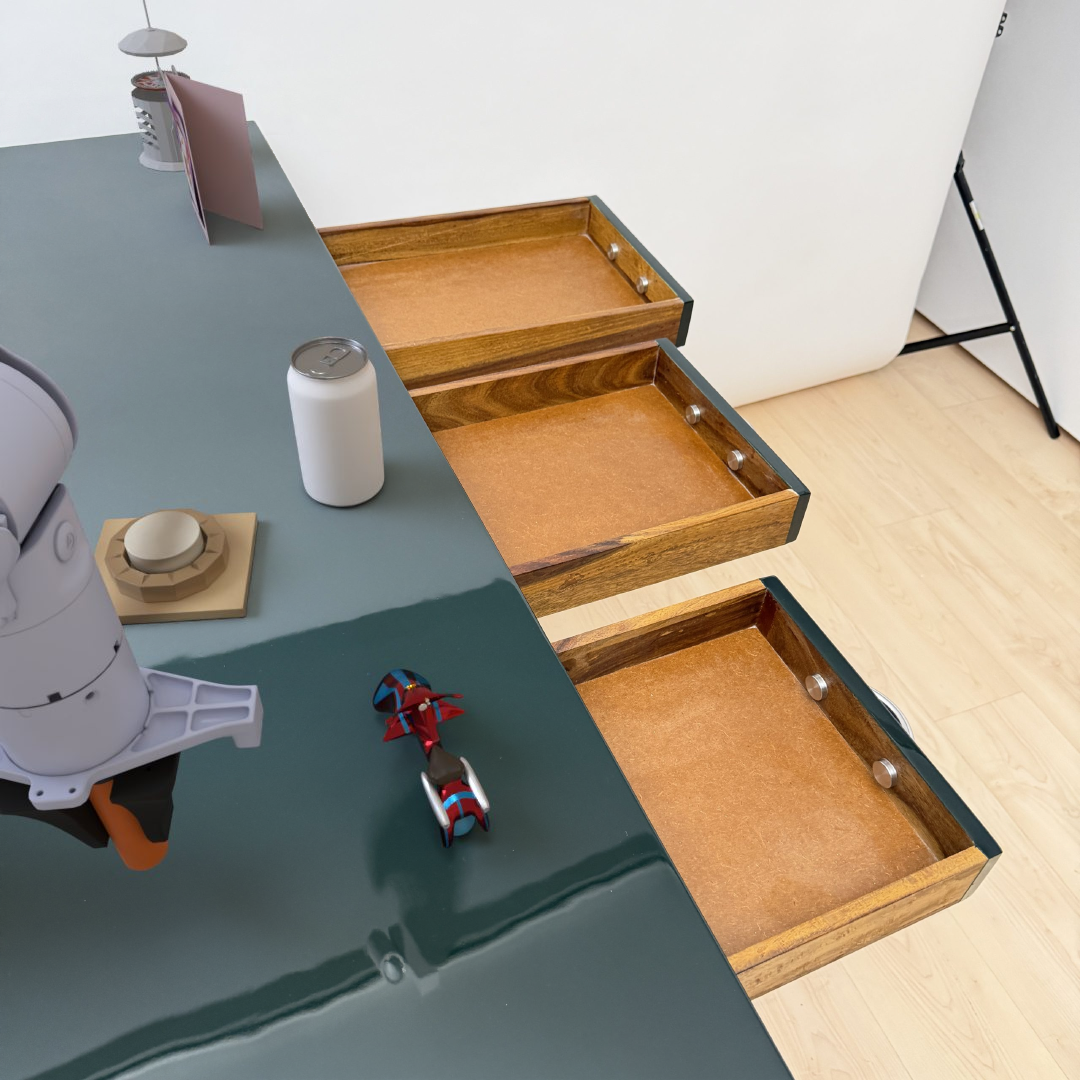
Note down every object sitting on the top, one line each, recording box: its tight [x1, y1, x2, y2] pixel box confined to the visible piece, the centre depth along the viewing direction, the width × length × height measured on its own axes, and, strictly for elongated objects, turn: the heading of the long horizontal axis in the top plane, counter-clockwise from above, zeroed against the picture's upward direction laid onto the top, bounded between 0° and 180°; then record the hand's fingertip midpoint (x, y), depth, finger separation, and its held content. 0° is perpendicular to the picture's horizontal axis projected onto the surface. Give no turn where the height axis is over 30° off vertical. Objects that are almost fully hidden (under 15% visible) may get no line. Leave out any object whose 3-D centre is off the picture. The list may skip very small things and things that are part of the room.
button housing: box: [93, 508, 259, 625], centre depth 64 cm, size 11×10×2 cm
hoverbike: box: [371, 668, 491, 849], centre depth 52 cm, size 5×12×6 cm, turn 26°
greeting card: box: [162, 72, 265, 246], centre depth 101 cm, size 11×7×15 cm, turn 25°
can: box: [286, 336, 385, 508], centre depth 69 cm, size 6×6×12 cm
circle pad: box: [124, 511, 204, 574], centre depth 63 cm, size 5×5×2 cm
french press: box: [117, 0, 191, 173], centre depth 111 cm, size 10×12×25 cm
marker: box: [88, 775, 169, 872], centre depth 43 cm, size 2×2×9 cm
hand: (133, 826), depth 44 cm, fingers closed on marker, 2 cm apart
